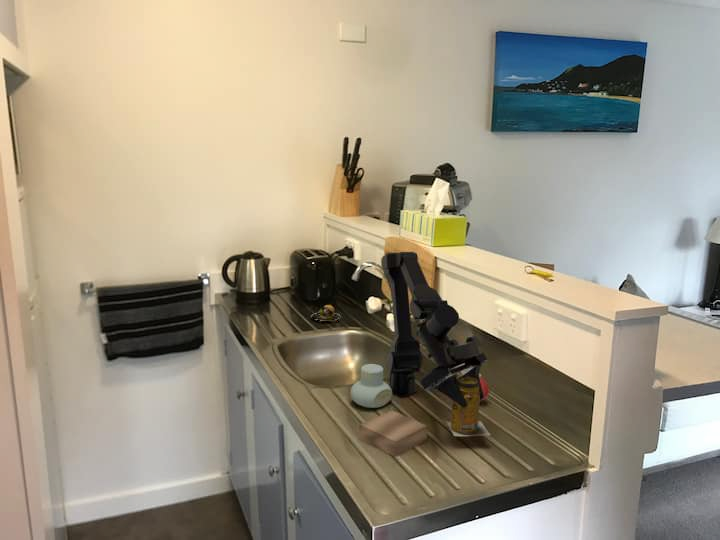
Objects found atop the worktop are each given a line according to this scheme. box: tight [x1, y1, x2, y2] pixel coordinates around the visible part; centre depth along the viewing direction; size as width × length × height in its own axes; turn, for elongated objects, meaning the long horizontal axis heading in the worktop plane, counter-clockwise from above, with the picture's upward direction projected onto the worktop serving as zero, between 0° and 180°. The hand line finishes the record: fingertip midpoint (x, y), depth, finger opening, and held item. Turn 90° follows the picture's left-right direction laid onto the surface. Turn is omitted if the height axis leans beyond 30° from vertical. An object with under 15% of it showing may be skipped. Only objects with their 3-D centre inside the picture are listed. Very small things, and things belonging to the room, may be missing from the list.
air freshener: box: [350, 363, 393, 409], centre depth 153 cm, size 11×8×10 cm
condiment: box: [445, 376, 491, 437], centre depth 134 cm, size 7×8×12 cm
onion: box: [479, 373, 490, 402], centre depth 156 cm, size 6×6×8 cm
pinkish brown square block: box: [358, 410, 428, 458], centre depth 135 cm, size 11×11×4 cm
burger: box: [310, 302, 342, 323], centre depth 227 cm, size 12×12×8 cm
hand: (474, 402), depth 132 cm, fingers closed on condiment, 6 cm apart
